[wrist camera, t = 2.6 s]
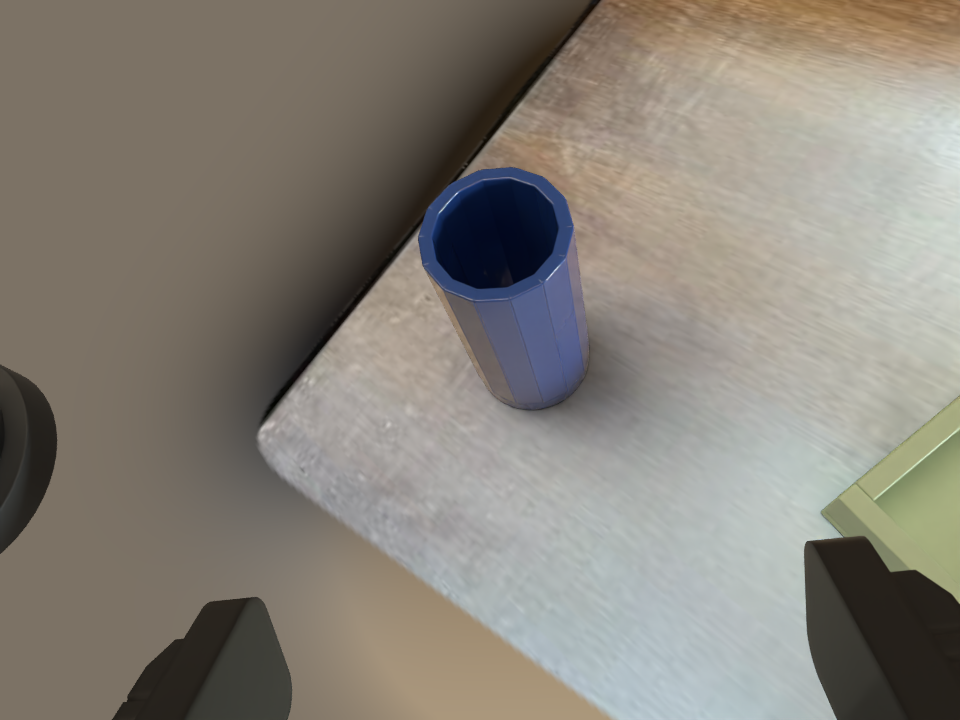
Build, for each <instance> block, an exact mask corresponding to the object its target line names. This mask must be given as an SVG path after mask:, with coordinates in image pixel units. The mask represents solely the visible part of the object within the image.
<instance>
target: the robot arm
mask: <svg viewBox="0 0 960 720" xmlns="http://www.w3.org/2000/svg"><path fill="white" fill-rule="evenodd" d="M3 443H4V424H3V417H2V413H1V410H0V458H1V454H2V449H3ZM804 565H805V593H806V621H807V635H808V641H809V647H810V651H811V656H812V659H813V663H814V666H815V669H816V672H817V675H818V677H819V680H820V682H821V684H822V686H823V689H824V691H825V693H826V696H827V698H828V700H829V702H830V705H831V707H832V709H833V712H834V714H835V716H836V718H837V720H960V604H959V603H958V601H957V600H956V599H955V597H954V596H953V595H952V594H951V593H950V592H948V591H947V590H945V589H944V588H942V587H941V586H939V585H938V584H936V583H935V582H933V581H932V580H930V579H929V578H927V577H926V576H925V575H923V574H922V573H920V572H919V571H917V570H916V569H915V570H905V571H895V572H890V571H889V569H888V568H887V566H886V565H885V563H884V562H883V560H882V559H881V557H880V556H879V554H878V553H877V551H876V550H875V548H874V547H873V545H872V544H871V542H870V541H869V539H867V538H866V537H865V536H853V537H843V538H833V539H824V540H814V541H807V542H806V544H805V548H804ZM291 701H292V683H291V677H290V673H289V669H288V666H287V664H286V661H285V658H284V656H283V653H282V650H281V647H280V644H279V641H278V639H277V636H276V633H275V630H274V628H273V625H272V622H271V619H270V616H269V614H268V611H267V608H266V606H265V604H264V602H263V601H262V600H261V599H259V598H258V597H251V598H242V599H232V600H222V601H213V602H209V603H207V604H206V605H205V606H204V607H203V608H202V610H201V612H200V613H199V615H198V616H197V618H196V619H195V621H194V623H193V624H192V626H191V628H190V629H189V631H188V633H187V634H186V636H185V638H184V639H177V640H174V641H173V642H172V643H171V644H170V645H169V646H168V647H167V648H166V649H165V650H164V651H163V652H162V653H160V654H159V655H158V656H157V657H156V658H155V659H154V660H153V661H152V662H151V663H150V664H149V665H147V666H146V668H145V670H144V671H143V673H142V674H141V676H140V677H139V679H138V680H137V682H136V683H135V685H134V686H133V688H132V690H131V691H130V693H129V694H128V700H127V702H123V704H122V705H121V707H120V708H119V710H118V711H117V713H116V715H115V716H114V718H113V719H112V720H287V719H288V716H289V713H290V708H291Z"/></svg>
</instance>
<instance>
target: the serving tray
mask: <svg viewBox="0 0 960 720" xmlns="http://www.w3.org/2000/svg"><path fill="white" fill-rule="evenodd" d="M821 513H822V515H823V516H824V517H825V518H826V519H827V520H828V521H829V522H830V523H831V524H832V525H833V526H834V527H835V528H836V529H837V530H838V531H839V532H840V533H841V534H842V535H843V536H844V537H853V536H865V537H866V538H867V539H869V541H870V542H871V544H872V545H873V547H874V548H875V550H876V551H877V553H878V554H879V556H880V557H881V559H882V560H883V562H884V563H885V565H886V566H887V568H888V569H889V571H890V572H895V571H905V570H915V569H916V570H917V571H919V572H920V573H922V574H923V575H925V576H926V577H927V578H929V579H930V580H932V581H933V582H935V583H936V584H938V585H939V586H941V587H942V588H944V589H945V590H947V591H948V592H950V593H951V594H952V595H953V596H954V597H955V599H956V600H957V601H958V603H959V604H960V396H959V397H957V398H956V399H955V400H954V401H953V402H951V403H950V404H949V405H948V406H946V407H945V408H944V409H943V410H942V411H940V412H939V413H938V414H937V415H936V416H934V417H933V418H932V419H931V420H930V421H928V422H927V423H926V424H925V425H924V426H922V427H921V428H920V429H919V430H918V431H916V432H915V433H914V434H913V435H912V436H910V437H909V438H908V439H907V440H906V441H904V442H903V443H902V444H901V445H900V446H898V447H897V448H896V449H895V450H893V451H892V452H891V453H890V454H889V455H887V456H886V457H885V458H884V459H883V460H881V461H880V462H879V463H878V464H877V465H875V466H874V467H873V468H872V469H871V470H869V471H868V472H867V473H866V474H865V475H863V476H862V477H861V478H860V479H859V480H857V481H856V482H855V483H854V484H853V485H851V486H850V487H849V488H848V489H846V490H845V491H844V492H843V493H842V494H840V495H839V496H838V497H837V498H836V499H835V500H833V501H832V502H831V503H830V504H829V505H828V506H826V507H825V508H824V509H823V510H822V511H821Z"/></svg>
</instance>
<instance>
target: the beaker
mask: <svg viewBox="0 0 960 720" xmlns="http://www.w3.org/2000/svg"><path fill="white" fill-rule="evenodd" d="M418 242H419V247H420V253H421V259H422V264H423V267H424V269H425V271H426V273H427V275H428V277H429V279H430V281H431V283H432V285H433V287H434V289H435V291H436V293H437V295H438V297H439V299H440V301H441V302H442V304H443V306H444V308H445V310H446V312H447V314H448V316H449V318H450V320H451V322H452V324H453V326H454V328H455V330H456V332H457V334H458V336H459V338H460V340H461V342H462V344H463V345H464V347H465V349H466V351H467V353H468V355H469V357H470V359H471V361H472V363H473V365H474V367H475V369H476V371H477V373H478V375H479V376H480V378H481V379H482V380H483V382H484V384H485V386H486V387H487V388H488V390H489V391H490V392H491V393H492V394H493V395H494V396H495V397H496V398H497V399H499V400H500V401H502V402H503V403H505V404H507V405H510V406H512V407H516V408H520V409H529V410H534V409H542V408H547V407H550V406H553V405H555V404H557V403H559V402H561V401H563V400H564V399H566V398H567V397H569V396H570V395H571V394H572V393H573V392H574V391H575V390H576V389H577V388H578V386H579V385H580V383H581V382H582V380H583V378H584V376H585V374H586V371H587V368H588V363H589V340H588V332H587V324H586V317H585V309H584V301H583V294H582V286H581V278H580V270H579V263H578V255H577V247H576V239H575V232H574V225H573V221H572V218H571V214H570V211H569V207H568V204H567V200H566V199H565V197H564V196H563V195H562V194H561V193H560V192H559V191H558V190H557V189H556V188H555V187H554V186H553V185H552V184H551V183H550V182H549V181H548V180H547V179H546V178H543V177H542V176H539V175H536V174H533V173H530V172H527V171H524V170H521V169H518V168H513V167H508V168H496V169H483V170H478V171H476V172H474V173H472V174H470V175H468V176H466V177H464V178H462V179H460V180H458V181H456V182H453V183H451V184H450V185H449V186H448V187H447V188H446V189H445V190H444V191H443V192H442V193H441V194H440V195H439V196H438V197H437V199H436V200H435V201H434V202H433V203H432V204H431V205H430V206H429V207H428V209H427V211H426V214H425V217H424V220H423V224H422V227H421V230H420V233H419V236H418Z"/></svg>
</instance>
